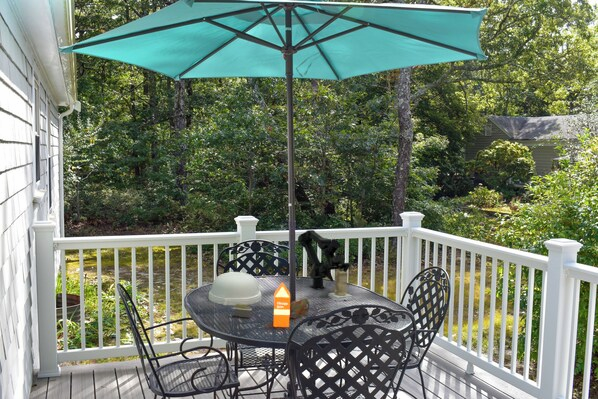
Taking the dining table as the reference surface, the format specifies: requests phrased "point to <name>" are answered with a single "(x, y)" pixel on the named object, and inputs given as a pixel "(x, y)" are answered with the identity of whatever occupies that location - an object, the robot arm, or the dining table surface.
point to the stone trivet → (339, 295)
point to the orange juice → (281, 307)
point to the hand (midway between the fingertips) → (339, 280)
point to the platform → (242, 310)
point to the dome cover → (235, 289)
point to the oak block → (340, 283)
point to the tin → (299, 308)
